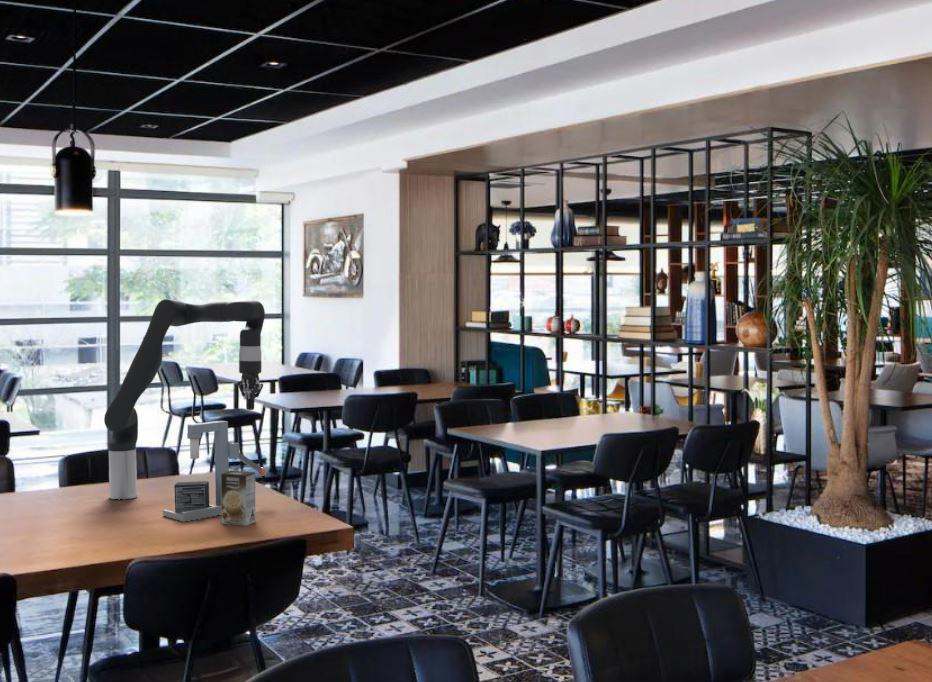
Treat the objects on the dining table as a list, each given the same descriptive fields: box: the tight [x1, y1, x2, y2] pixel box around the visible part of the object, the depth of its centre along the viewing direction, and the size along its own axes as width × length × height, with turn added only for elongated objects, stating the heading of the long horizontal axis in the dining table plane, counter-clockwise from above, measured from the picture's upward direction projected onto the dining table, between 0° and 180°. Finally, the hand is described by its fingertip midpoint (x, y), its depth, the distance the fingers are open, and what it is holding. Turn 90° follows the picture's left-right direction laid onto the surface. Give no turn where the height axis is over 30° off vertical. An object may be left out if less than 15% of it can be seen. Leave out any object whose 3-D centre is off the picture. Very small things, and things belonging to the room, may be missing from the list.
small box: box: [173, 480, 210, 514], centre depth 336 cm, size 11×6×10 cm, turn 97°
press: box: [162, 420, 240, 523], centre depth 336 cm, size 13×23×30 cm, turn 135°
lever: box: [228, 446, 267, 477], centre depth 346 cm, size 3×18×3 cm
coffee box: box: [221, 469, 257, 527], centre depth 322 cm, size 9×6×16 cm
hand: (250, 409), depth 350 cm, fingers closed
